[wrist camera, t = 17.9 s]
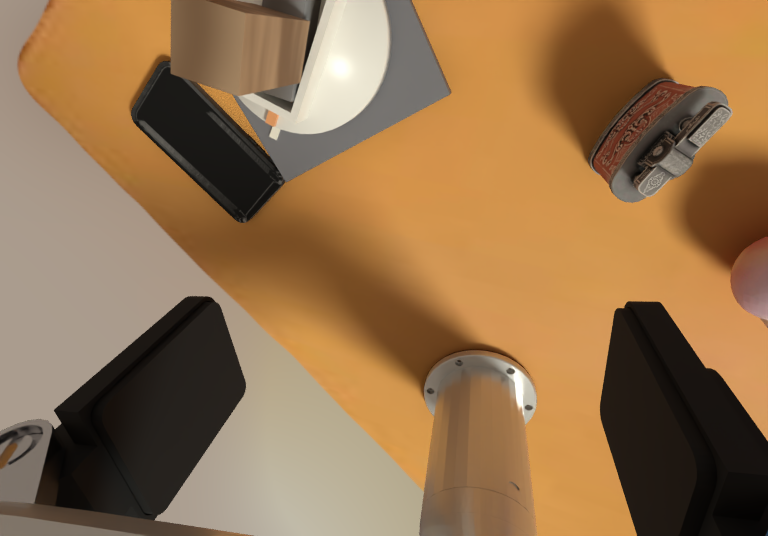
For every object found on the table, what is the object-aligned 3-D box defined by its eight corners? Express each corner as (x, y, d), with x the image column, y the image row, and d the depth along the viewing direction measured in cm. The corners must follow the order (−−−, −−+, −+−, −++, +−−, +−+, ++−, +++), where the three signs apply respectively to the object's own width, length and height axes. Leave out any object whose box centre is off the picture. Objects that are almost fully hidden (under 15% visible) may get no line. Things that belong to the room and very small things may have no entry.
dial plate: (451, 92, 35) (450, 94, 34) (292, 177, 42) (285, 182, 40) (343, -157, 29) (335, -168, 28) (177, -12, 36) (164, -15, 34)
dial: (249, -109, 30) (214, -131, 26) (423, -15, 31) (414, -23, 27) (209, 84, 37) (177, 88, 33) (351, 157, 38) (336, 171, 34)
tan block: (328, -1, 31) (248, -23, 20) (311, 99, 34) (236, 123, 24) (276, -17, 31) (171, -47, 20) (265, 84, 34) (170, 101, 24)
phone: (242, 227, 45) (127, 116, 41) (247, 223, 46) (135, 115, 42) (287, 178, 41) (164, 54, 38) (292, 175, 42) (172, 53, 39)
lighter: (610, 181, 36) (651, 225, 27) (578, 160, 36) (608, 198, 27) (690, 93, 32) (767, 112, 23) (654, 68, 32) (718, 78, 23)
